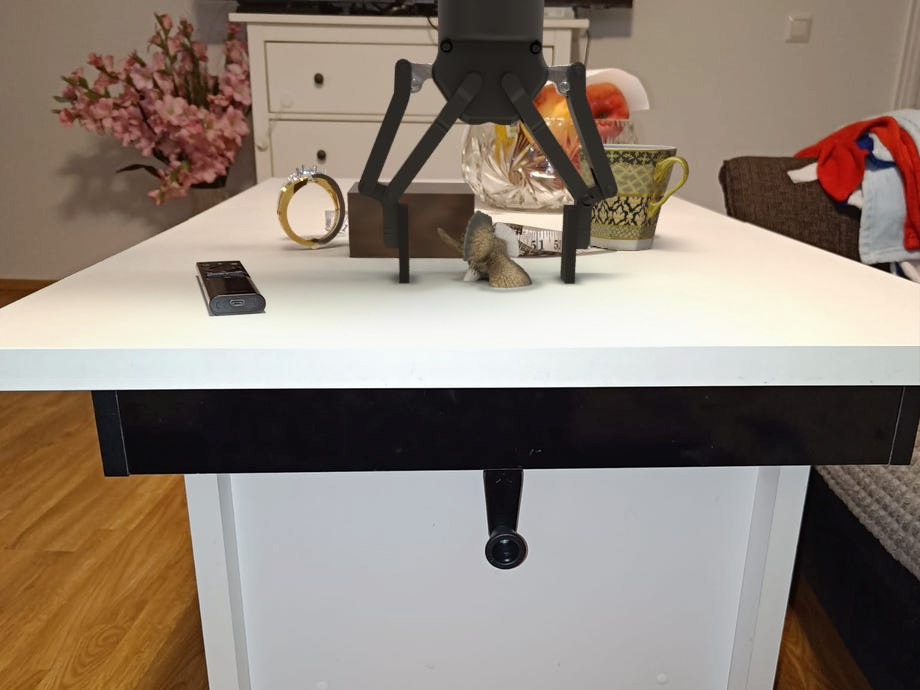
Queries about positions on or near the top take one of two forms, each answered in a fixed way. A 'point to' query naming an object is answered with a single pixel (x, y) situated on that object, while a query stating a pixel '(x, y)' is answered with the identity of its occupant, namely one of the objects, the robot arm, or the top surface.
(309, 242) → the ring
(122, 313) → the top surface
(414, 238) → the walnut block
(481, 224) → the eagle figurine
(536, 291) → the top surface
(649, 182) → the ceramic cup
